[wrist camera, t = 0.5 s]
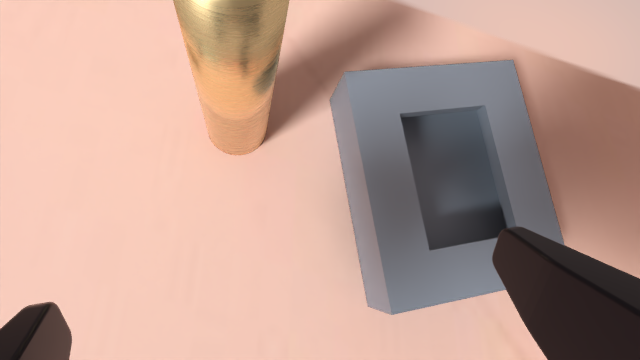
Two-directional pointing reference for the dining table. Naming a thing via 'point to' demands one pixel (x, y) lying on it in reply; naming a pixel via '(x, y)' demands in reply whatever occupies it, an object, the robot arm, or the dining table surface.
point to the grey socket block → (437, 178)
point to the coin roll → (234, 65)
